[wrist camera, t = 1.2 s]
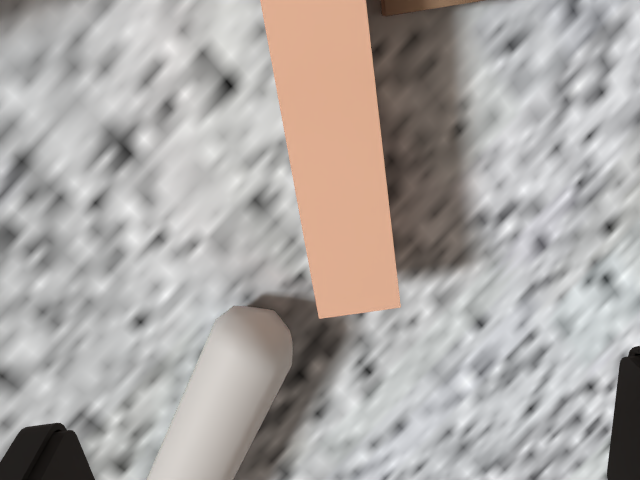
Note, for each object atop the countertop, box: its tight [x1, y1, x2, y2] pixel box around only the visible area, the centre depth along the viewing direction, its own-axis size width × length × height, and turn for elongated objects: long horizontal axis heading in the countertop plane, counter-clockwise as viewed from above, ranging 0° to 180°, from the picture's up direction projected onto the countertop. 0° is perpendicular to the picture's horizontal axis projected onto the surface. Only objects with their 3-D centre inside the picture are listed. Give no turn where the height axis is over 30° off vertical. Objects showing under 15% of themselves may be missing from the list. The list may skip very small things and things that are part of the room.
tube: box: [147, 306, 293, 480], centre depth 34 cm, size 5×5×25 cm
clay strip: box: [260, 0, 401, 319], centre depth 26 cm, size 4×16×4 cm, turn 9°
